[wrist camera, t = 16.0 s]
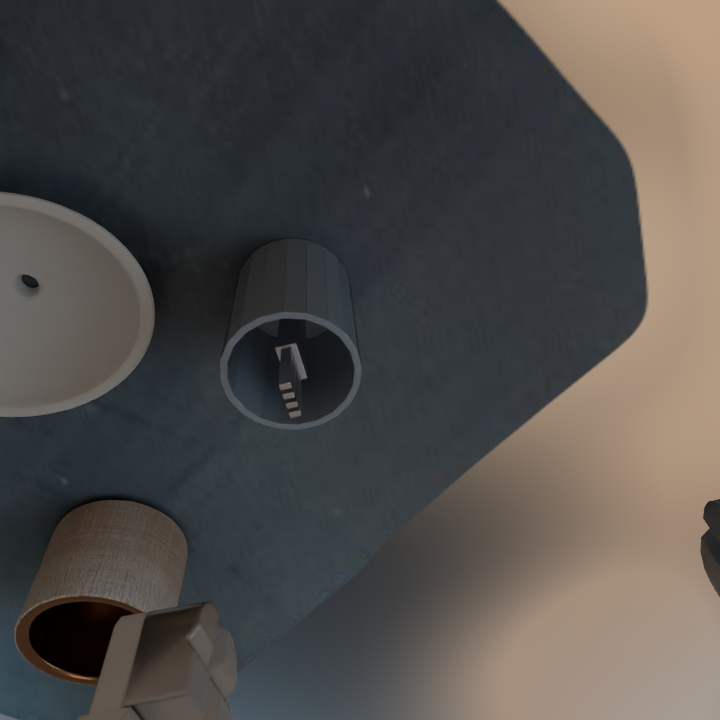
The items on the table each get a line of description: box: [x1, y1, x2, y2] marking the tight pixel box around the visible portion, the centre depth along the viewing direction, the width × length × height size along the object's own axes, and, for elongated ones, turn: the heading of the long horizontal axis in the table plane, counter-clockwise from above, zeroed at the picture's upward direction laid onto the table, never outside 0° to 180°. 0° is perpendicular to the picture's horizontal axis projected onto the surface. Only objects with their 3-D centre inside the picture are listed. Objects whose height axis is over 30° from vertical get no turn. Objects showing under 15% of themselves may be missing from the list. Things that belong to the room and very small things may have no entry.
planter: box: [14, 499, 188, 685], centre depth 51 cm, size 11×11×10 cm
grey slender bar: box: [275, 318, 307, 418], centre depth 38 cm, size 1×2×12 cm, turn 13°
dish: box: [0, 192, 155, 417], centre depth 40 cm, size 18×14×5 cm
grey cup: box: [220, 239, 362, 430], centre depth 40 cm, size 8×8×10 cm
